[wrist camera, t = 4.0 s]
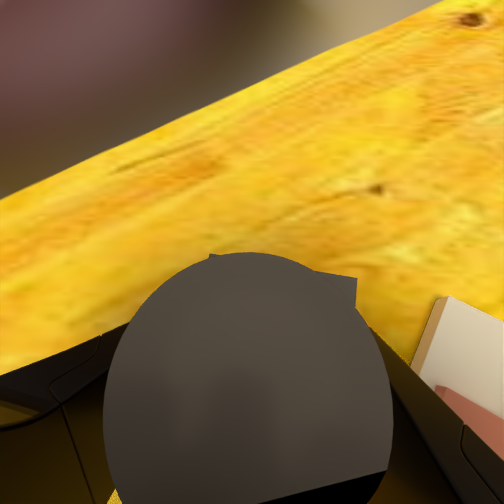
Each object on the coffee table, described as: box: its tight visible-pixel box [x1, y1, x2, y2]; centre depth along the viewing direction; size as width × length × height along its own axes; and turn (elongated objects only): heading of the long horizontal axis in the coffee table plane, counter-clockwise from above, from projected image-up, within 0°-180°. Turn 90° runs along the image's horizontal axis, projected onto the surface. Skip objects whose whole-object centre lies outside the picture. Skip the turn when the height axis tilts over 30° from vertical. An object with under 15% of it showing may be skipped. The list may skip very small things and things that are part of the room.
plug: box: [103, 252, 393, 504], centre depth 8 cm, size 4×3×13 cm
